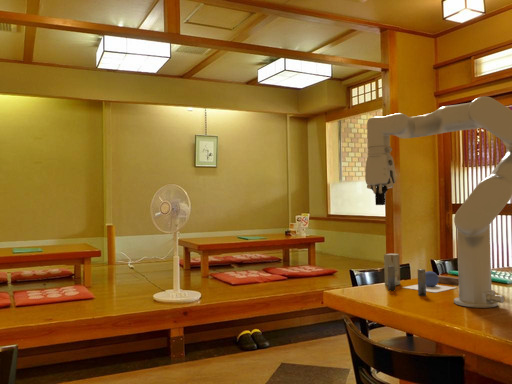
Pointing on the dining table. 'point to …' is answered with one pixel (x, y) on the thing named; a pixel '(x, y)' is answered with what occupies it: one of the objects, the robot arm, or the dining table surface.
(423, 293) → the near post
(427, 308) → the dining table surface
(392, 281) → the far post
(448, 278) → the strip
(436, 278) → the ball
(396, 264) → the skincare box
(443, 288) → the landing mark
